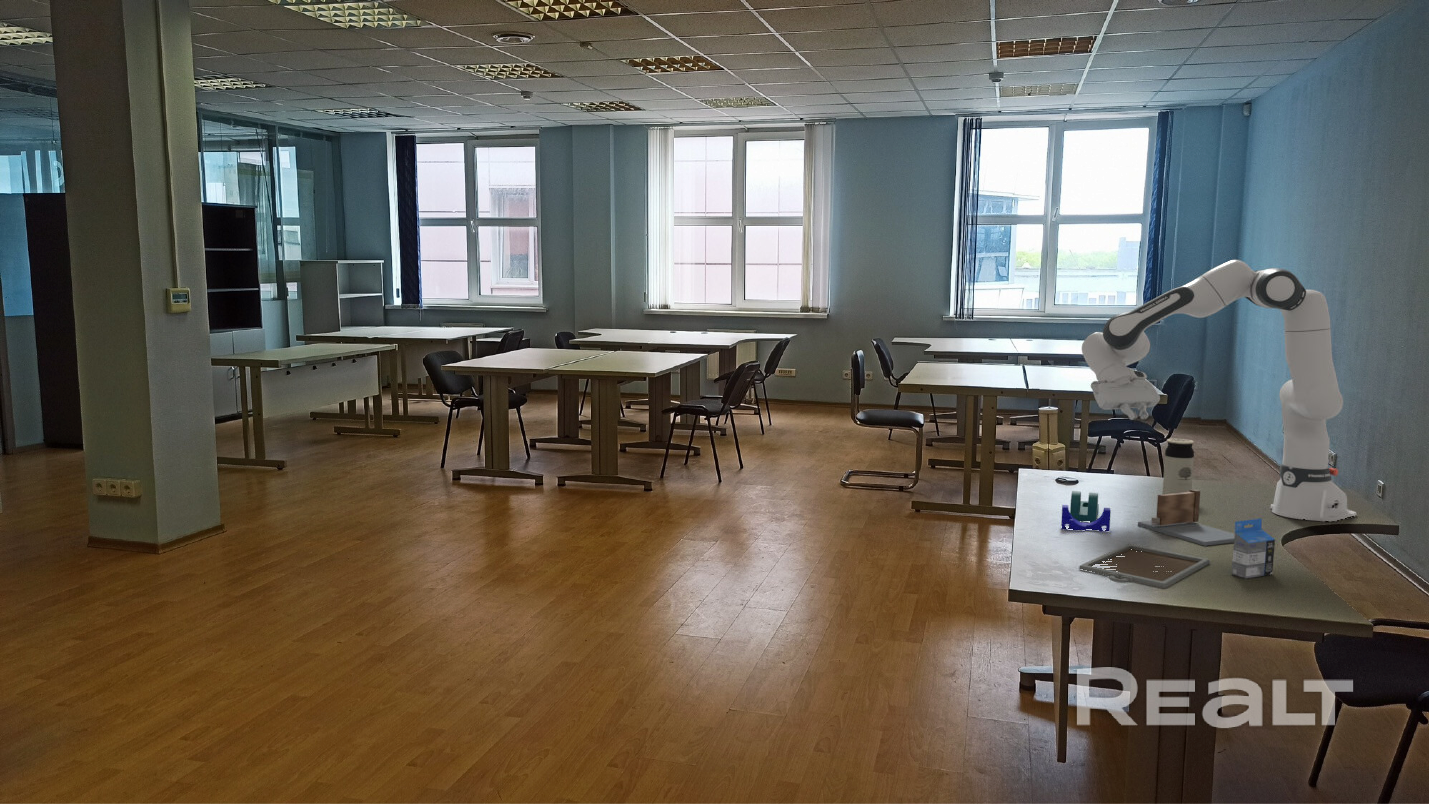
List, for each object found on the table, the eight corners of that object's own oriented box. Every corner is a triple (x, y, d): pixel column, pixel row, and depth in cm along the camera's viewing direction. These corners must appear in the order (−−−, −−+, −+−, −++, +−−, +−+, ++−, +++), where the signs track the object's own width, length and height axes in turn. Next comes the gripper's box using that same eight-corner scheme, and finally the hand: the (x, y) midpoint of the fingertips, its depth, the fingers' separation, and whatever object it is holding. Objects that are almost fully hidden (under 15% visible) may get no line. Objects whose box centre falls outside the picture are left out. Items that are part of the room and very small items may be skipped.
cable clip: (1061, 530, 260) (1062, 508, 260) (1061, 526, 265) (1062, 504, 264) (1109, 534, 257) (1111, 511, 256) (1108, 529, 261) (1109, 508, 260)
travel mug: (1158, 495, 303) (1162, 438, 301) (1185, 495, 302) (1189, 438, 300) (1167, 500, 295) (1170, 442, 293) (1194, 501, 294) (1198, 442, 292)
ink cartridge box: (1245, 579, 217) (1249, 525, 216) (1230, 574, 221) (1234, 521, 219) (1273, 575, 221) (1277, 521, 219) (1257, 570, 224) (1261, 517, 223)
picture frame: (1210, 558, 229) (1160, 586, 208) (1209, 565, 230) (1159, 593, 209) (1128, 543, 243) (1073, 567, 222) (1128, 549, 243) (1073, 574, 222)
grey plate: (1176, 521, 270) (1177, 517, 270) (1245, 540, 250) (1245, 536, 249) (1137, 525, 265) (1138, 521, 265) (1204, 545, 245) (1204, 542, 244)
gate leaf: (1191, 519, 265) (1193, 489, 264) (1198, 521, 263) (1200, 490, 262) (1149, 524, 260) (1151, 493, 259) (1155, 526, 258) (1157, 495, 257)
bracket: (1095, 523, 267) (1097, 495, 266) (1069, 521, 270) (1071, 493, 269) (1098, 510, 284) (1100, 483, 283) (1074, 507, 286) (1075, 481, 285)
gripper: (1094, 374, 279) (1117, 412, 271) (1149, 372, 286) (1173, 409, 278) (1082, 388, 283) (1105, 426, 276) (1136, 386, 291) (1160, 423, 283)
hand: (1140, 418), depth 277 cm, fingers open, 3 cm apart
